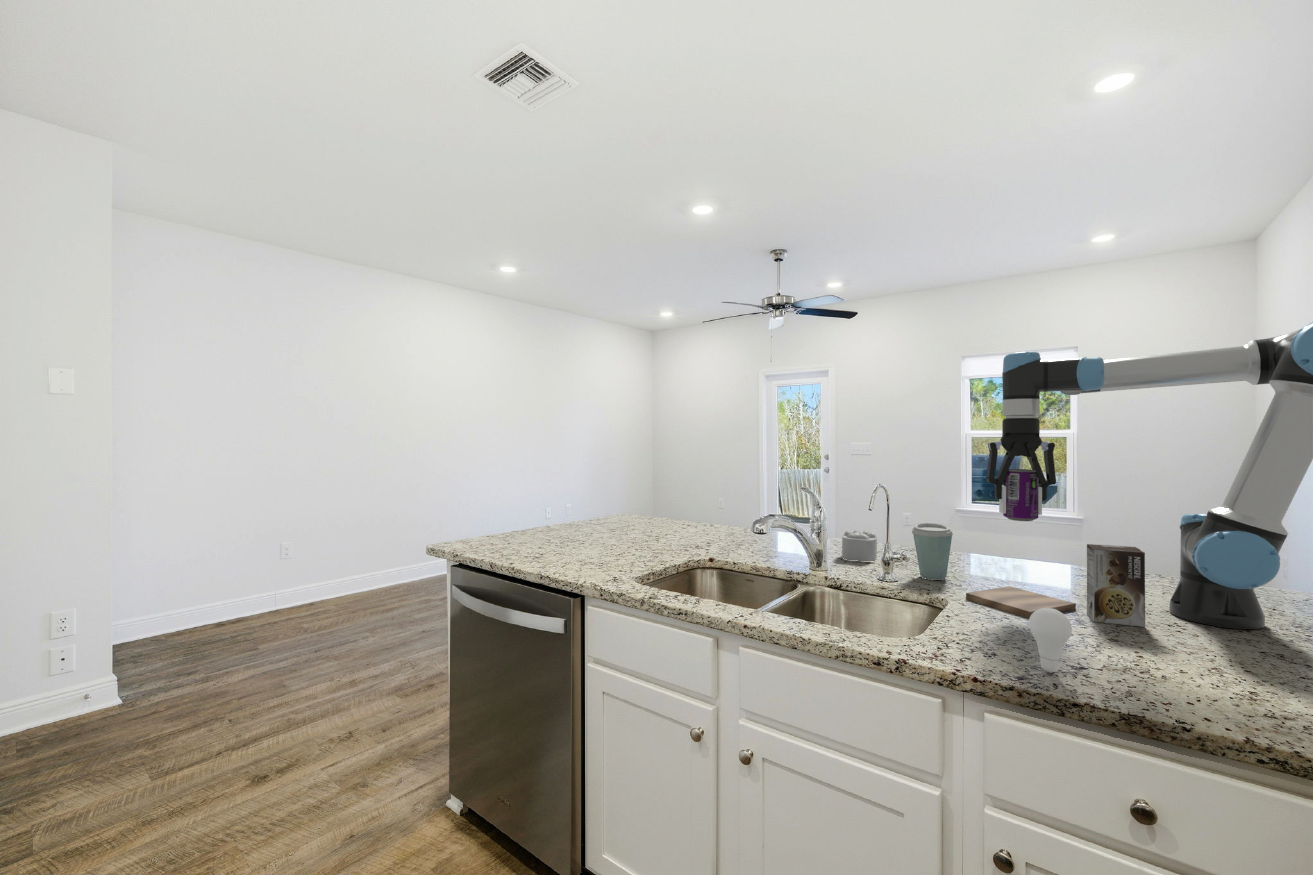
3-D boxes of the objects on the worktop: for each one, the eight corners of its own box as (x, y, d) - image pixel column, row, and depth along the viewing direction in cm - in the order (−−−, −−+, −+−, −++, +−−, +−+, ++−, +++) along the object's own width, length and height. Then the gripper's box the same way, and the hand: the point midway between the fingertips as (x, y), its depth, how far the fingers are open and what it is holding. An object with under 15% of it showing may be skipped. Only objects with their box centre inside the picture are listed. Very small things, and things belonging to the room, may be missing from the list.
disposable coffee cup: (959, 583, 155) (959, 529, 155) (917, 582, 157) (917, 527, 157) (945, 574, 166) (945, 522, 165) (906, 572, 167) (906, 521, 167)
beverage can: (1043, 522, 132) (1044, 470, 132) (1010, 521, 134) (1010, 470, 134) (1030, 517, 139) (1030, 468, 139) (998, 517, 141) (998, 468, 141)
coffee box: (1135, 619, 126) (1136, 546, 126) (1146, 628, 120) (1146, 552, 120) (1085, 613, 130) (1086, 543, 130) (1093, 621, 124) (1093, 548, 124)
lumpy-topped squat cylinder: (839, 560, 184) (840, 533, 184) (846, 552, 195) (846, 527, 195) (874, 563, 179) (874, 536, 179) (878, 555, 191) (879, 529, 191)
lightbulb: (1020, 665, 101) (1020, 603, 101) (1052, 664, 102) (1052, 602, 101) (1046, 680, 95) (1047, 614, 95) (1080, 679, 95) (1081, 613, 95)
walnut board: (1075, 609, 133) (1075, 603, 133) (1030, 618, 126) (1030, 611, 126) (1009, 591, 147) (1009, 586, 147) (965, 598, 141) (966, 592, 141)
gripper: (1062, 417, 137) (1061, 512, 137) (971, 418, 143) (970, 509, 143) (1075, 416, 130) (1074, 517, 130) (978, 417, 136) (978, 513, 136)
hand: (1020, 513), depth 137 cm, fingers closed on beverage can, 7 cm apart
